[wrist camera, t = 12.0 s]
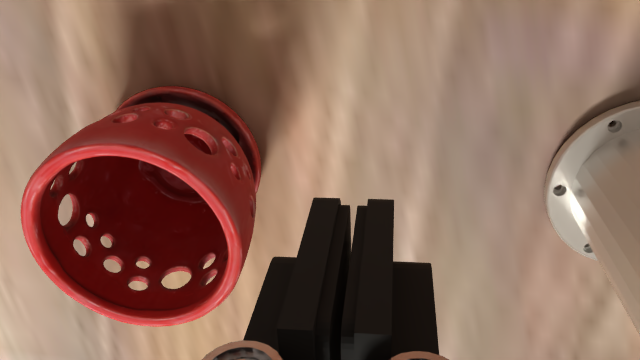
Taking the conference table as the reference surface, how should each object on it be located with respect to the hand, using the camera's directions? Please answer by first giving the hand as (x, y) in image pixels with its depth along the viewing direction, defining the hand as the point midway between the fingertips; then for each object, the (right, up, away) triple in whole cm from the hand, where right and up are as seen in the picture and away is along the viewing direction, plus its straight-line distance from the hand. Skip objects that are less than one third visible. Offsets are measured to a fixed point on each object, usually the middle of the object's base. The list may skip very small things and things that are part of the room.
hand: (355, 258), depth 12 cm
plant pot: (-10, +4, +30) cm, 32 cm away
